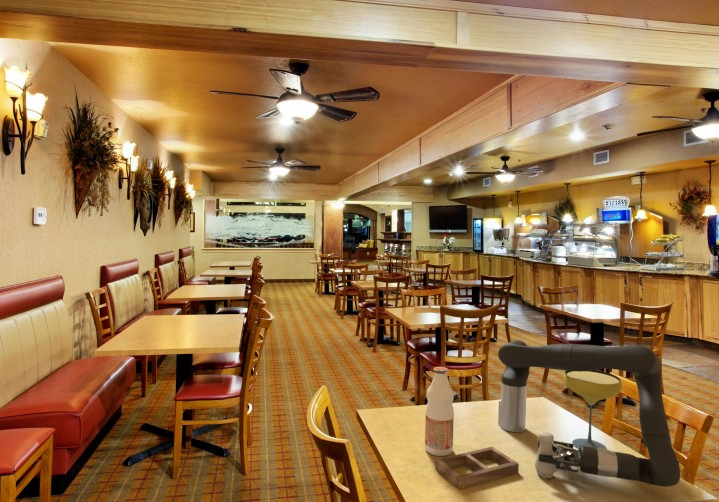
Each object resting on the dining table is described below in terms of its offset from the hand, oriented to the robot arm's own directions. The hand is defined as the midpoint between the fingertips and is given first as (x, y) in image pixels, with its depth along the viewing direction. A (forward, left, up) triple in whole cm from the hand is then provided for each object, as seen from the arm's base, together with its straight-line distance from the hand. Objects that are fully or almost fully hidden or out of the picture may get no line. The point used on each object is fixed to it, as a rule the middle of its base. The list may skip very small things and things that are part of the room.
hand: (538, 451), depth 138 cm
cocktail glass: (-6, +32, -7) cm, 33 cm away
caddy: (-9, -17, -7) cm, 20 cm away
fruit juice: (-25, -20, -7) cm, 32 cm away
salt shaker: (+1, +1, -7) cm, 7 cm away
